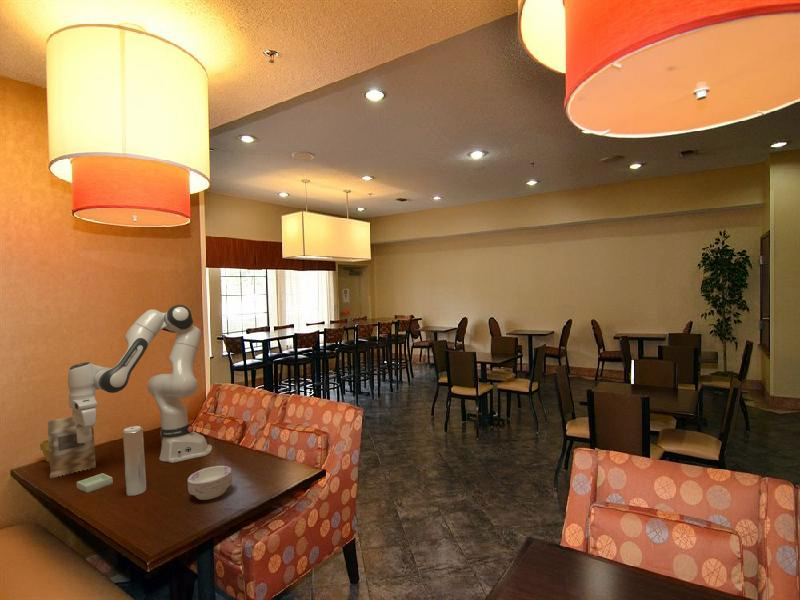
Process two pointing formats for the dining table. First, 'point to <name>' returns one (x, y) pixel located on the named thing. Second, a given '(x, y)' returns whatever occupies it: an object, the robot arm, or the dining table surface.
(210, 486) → the paper bowls
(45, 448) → the plant pot
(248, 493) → the dining table surface
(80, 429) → the cartridge
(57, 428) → the plate
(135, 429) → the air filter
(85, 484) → the service tray
